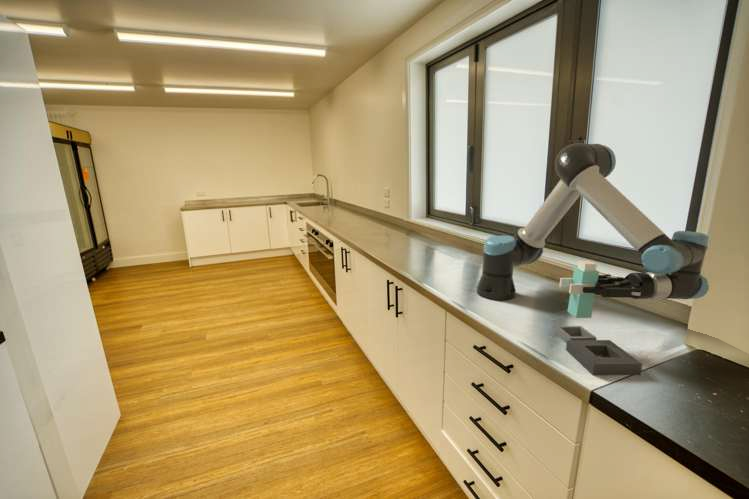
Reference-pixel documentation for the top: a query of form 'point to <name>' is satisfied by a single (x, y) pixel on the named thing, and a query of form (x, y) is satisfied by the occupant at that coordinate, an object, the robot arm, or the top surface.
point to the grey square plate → (573, 333)
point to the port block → (612, 365)
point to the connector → (583, 302)
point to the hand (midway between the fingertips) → (565, 285)
